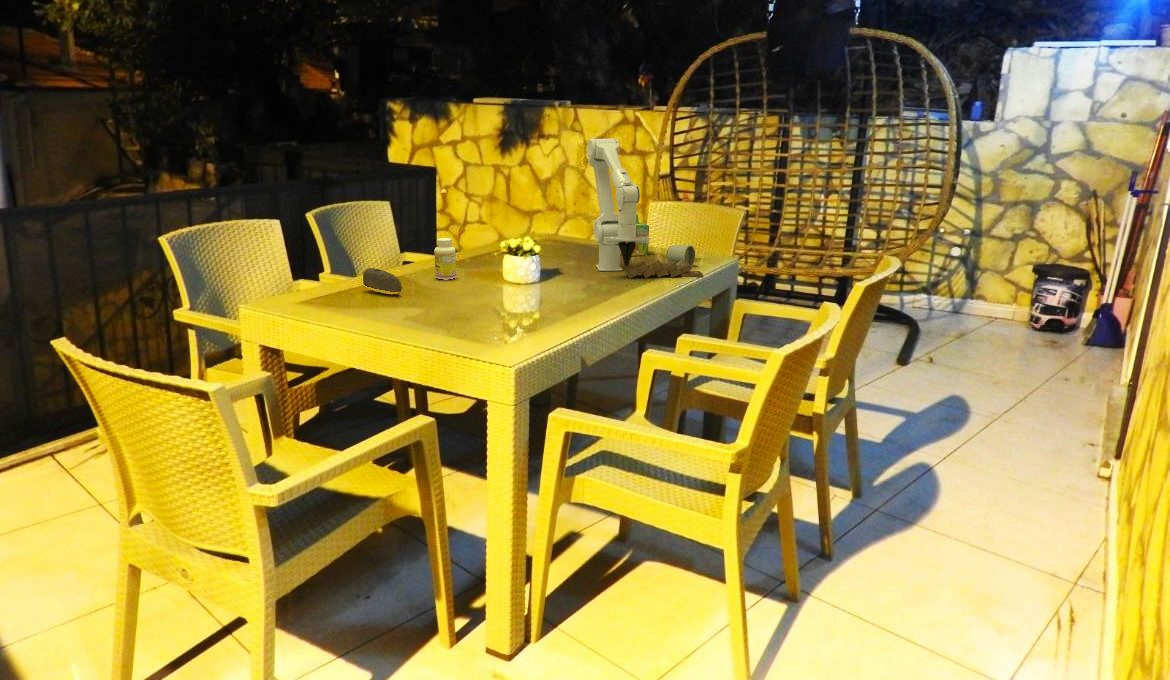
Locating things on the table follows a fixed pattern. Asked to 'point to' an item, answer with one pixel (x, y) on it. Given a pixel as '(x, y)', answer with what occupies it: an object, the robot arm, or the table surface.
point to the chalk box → (641, 231)
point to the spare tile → (636, 269)
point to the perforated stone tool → (381, 280)
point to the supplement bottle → (445, 259)
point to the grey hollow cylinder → (681, 254)
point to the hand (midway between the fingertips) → (626, 265)
